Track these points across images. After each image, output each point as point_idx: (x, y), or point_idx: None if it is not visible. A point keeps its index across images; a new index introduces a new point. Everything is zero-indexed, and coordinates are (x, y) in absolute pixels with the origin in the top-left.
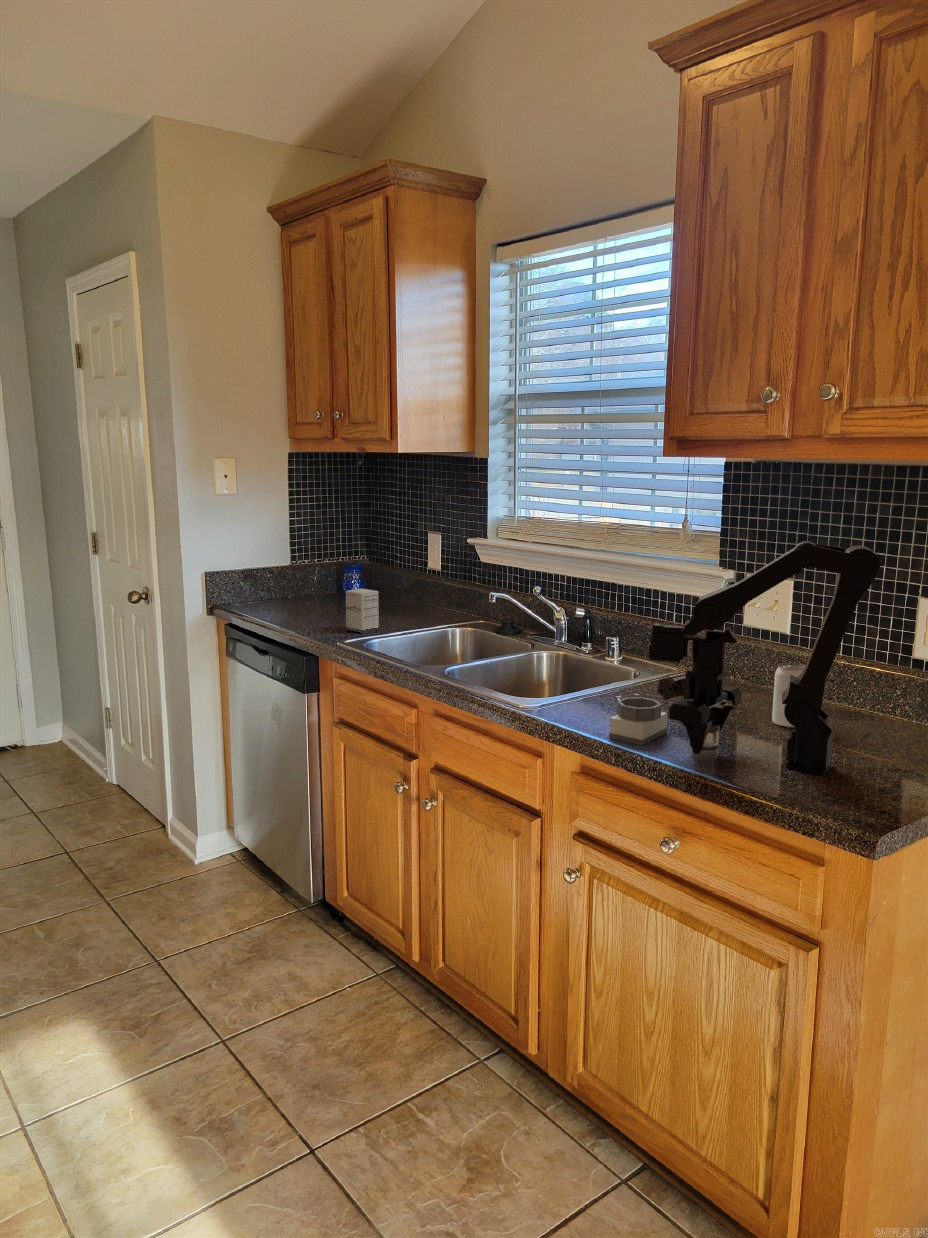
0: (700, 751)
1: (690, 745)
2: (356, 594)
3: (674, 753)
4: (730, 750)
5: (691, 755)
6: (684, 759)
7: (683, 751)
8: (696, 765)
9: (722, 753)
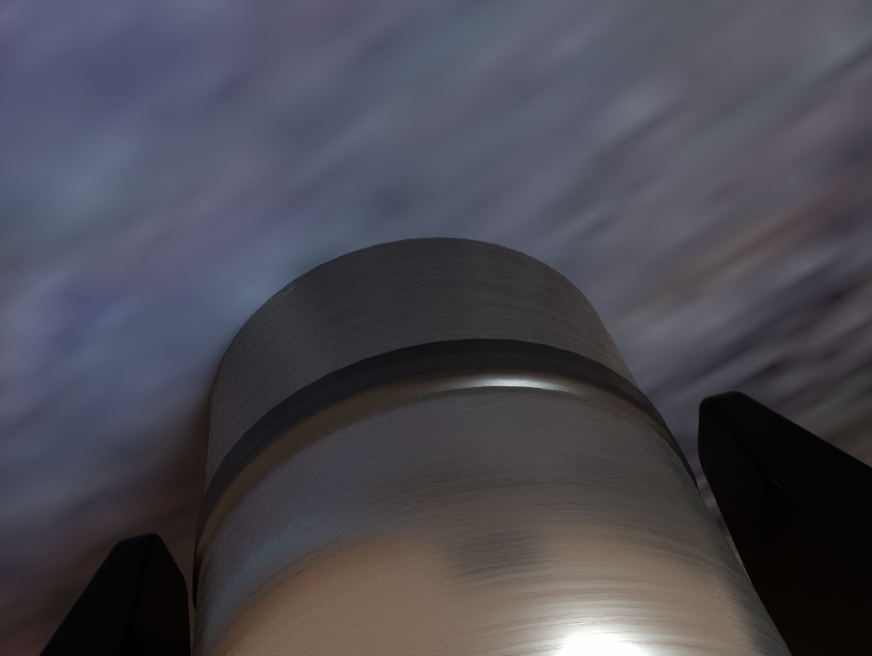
0: (184, 635)
1: (219, 477)
2: None
3: (108, 87)
4: (860, 442)
5: (217, 391)
6: (37, 378)
7: (357, 117)
8: (18, 581)
9: (690, 463)
